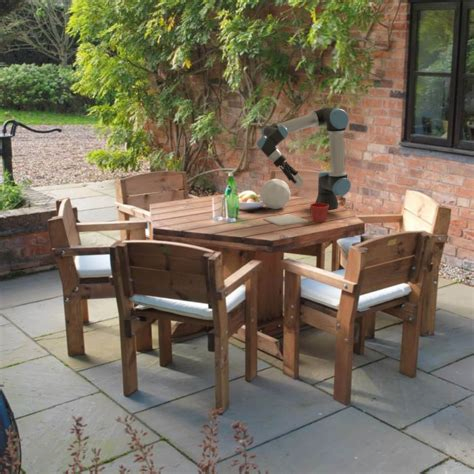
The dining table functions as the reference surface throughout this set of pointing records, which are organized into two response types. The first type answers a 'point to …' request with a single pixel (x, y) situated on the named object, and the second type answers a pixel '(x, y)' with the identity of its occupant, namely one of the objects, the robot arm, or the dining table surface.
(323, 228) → the dining table surface
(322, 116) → the robot arm
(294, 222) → the stone tile
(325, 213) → the flower pot
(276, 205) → the geometric orb
